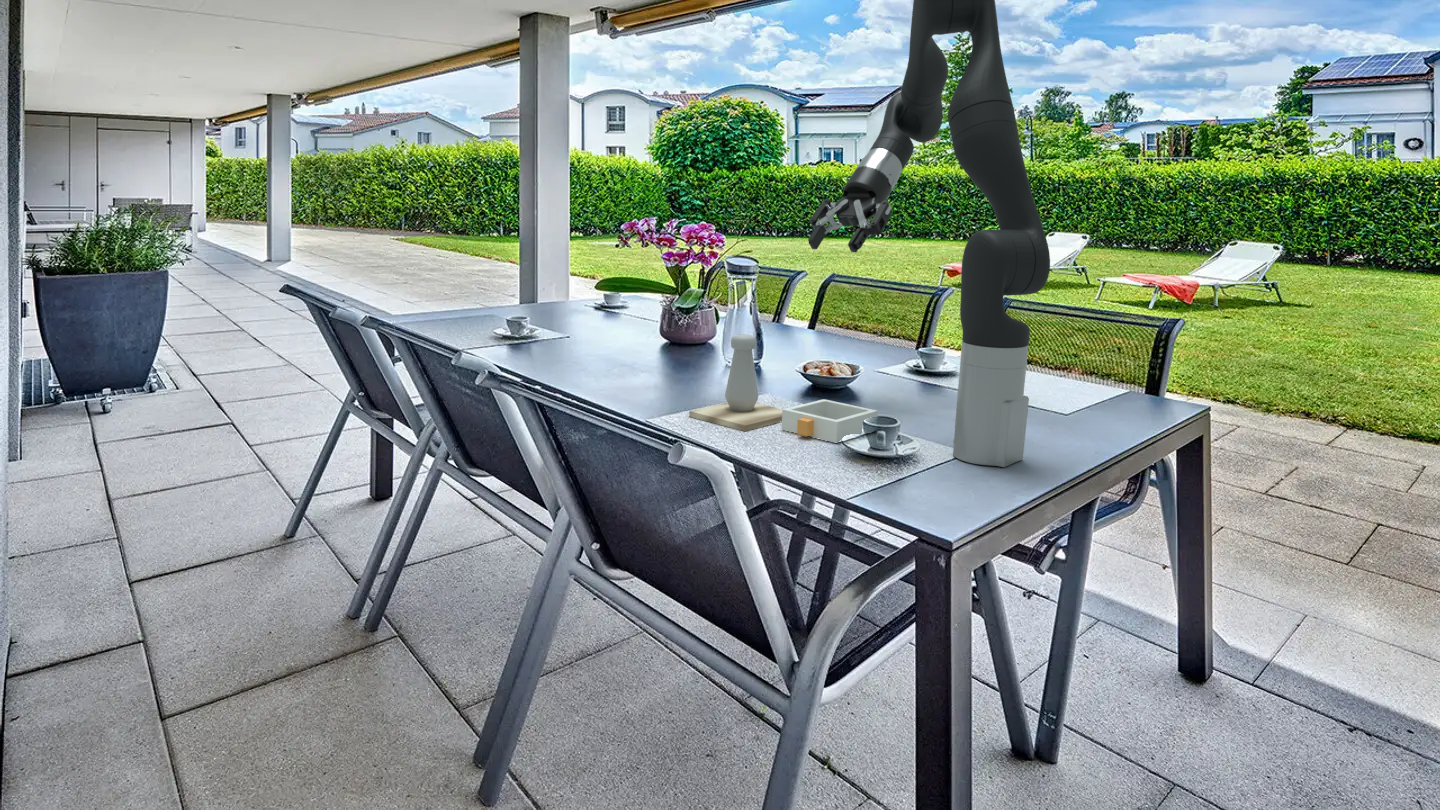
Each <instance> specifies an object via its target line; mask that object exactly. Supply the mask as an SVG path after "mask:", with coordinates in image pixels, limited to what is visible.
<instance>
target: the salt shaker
mask: <svg viewBox="0 0 1440 810" xmlns="http://www.w3.org/2000/svg"><path fill="white" fill-rule="evenodd" d="M756 342H757V341H756V337H755V336H754V335H751V334H749V333H748V334H747V333H742V334H741V333H740V334H734V335H732V337H731V339H730V347H731V349H734V350H733V354H732V358H731V364H730V369H729V374H728V378H727V384H726V389H725V395H724V396H725V400H726V403H728V404H729V407H730V409H731V410H732V411H738V412H746V411H752V410H753V408H754V406H755V404H756V403H757V402H758V400H759V392H758V391H759V390H758V386H757V385H758V383H757V376H756V368H755V362H754V354H753V350H754V349H756V344H757V343H756Z"/></svg>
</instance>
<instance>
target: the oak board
mask: <svg viewBox="0 0 1440 810" xmlns="http://www.w3.org/2000/svg"><path fill="white" fill-rule="evenodd" d="M782 409H783V408H778V407H774V406H770V405H766V404H761V403H757V402H756V404H755V406H754V408H753V410H752V411H746V412H738V411H732V410H731V409H730V407H729V404H728V402H723V403H719V404H715V405H710V406H706V407H702V408H698V409H697V408H696V409H693V410H689V412H688V413H689V415H688V417H690V418H693V419H697V420H701V421H703V422H708V423H711V424H715V425H716V424H717V425H720V426H723V427H728V428H730V429H735V430H739V431H742V432H749V431H753V430H755V429H760V428H764V427H768V426H771V425H770V424H772V425H774V423H776V424H778V423H777V422H779V423H781V422H780V421H782ZM767 425H768V426H767ZM763 426H764V427H763ZM752 429H753V430H752Z"/></svg>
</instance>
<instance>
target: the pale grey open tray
mask: <svg viewBox="0 0 1440 810" xmlns="http://www.w3.org/2000/svg"><path fill="white" fill-rule="evenodd" d="M781 409H782V422H781V431H783V430H785V431H784V432H787V431H789V432H788V433H791V432H794V433H793V434H795V433H797V434H796V435H799V436H803V437H806V438H808V437H807V436H811V437H815V438H820V439H823V440H827V441H831V442H839V441H840V440H841V439H842V438H843V437H844V436H846V435H850V434H861V433H862V422H863V421H864V420H865V419H867V418H870V417H875V416H877V417H878V415H879V414H878V412H879V411H878V410H876V409H871V408H867V407H863V406H862V407H861V406H858V405H852V404H848V403H844V402H838V401H834V400H829V399H825V398H824V399H818V400H815V401H811V402H807V403H804V404H803V403H802V404H797V405H796V406H795V405H794V406H791V407H787V408H781Z"/></svg>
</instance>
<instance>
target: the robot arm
mask: <svg viewBox="0 0 1440 810" xmlns="http://www.w3.org/2000/svg"><path fill="white" fill-rule="evenodd" d="M966 32H968V33H969V34H970V37H971V46H972V48H971V52H970V56H969V59H968V62H967V65H966V67H965V69H964V72H963V74H962V76H961V77H960V80H959V82H958V84H957V86H956V88H955V90H954V93H953V95H952V97H951V100H950V102H949V105H948V110H947V121H948V127H949V131H950V137H951V142H952V148H953V152H954V156H955V158H956V159H957V162H958V163H959V166H961V168H962V169H963V171H964V172H965V173H966V174H967V176H968V177H969V179H970V180H971V181H972V182H973V184H974V185H975V186H976V187H977V189H979V190H980V192H981V193H982V194H983V196H984V197H985V198H986V199H987V202H988V203H989V204H990V206H991V208H992V210H993V212H994V215H995V217H996V220H997V223H998V227H999V229H981V230H978V231H975V232H974V233H973V234H972V235H971V236H970V237H969V239H968V240H967V243H966V245H965V247H964V250H963V254H962V259H961V261H962V262H961V272H960V273H961V274H960V275H961V276H960V277H961V278H960V279H961V280H960V305H959V306H960V307H959V308H960V309H959V310H960V312H959V314H960V315H959V316H960V323H961V328H962V336H961V337H962V338H961V340H962V341H961V350H960V359H959V360H960V362H959V373H958V384H957V385H958V386H957V387H958V388H957V395H956V396H957V398H956V399H957V400H956V409H955V410H956V411H955V421H954V422H955V423H954V436H953V447H952V448H953V449H952V455H953V457H954V458H957V459H959V460H960V461H963V462H965V463H970V464H975V465H982V466H993V467H994V466H997V467H1002V468H1006V467H1008V466H1011V465H1013V464H1016V463H1017V462H1019V461H1022V460H1023V459H1024V451H1025V450H1024V449H1025V441H1026V433H1027V432H1026V431H1027V421H1028V412H1029V401H1030V397H1029V396H1026V395H1025V394H1024V392H1025V386H1026V385H1025V382H1026V375H1027V364H1028V355H1029V354H1028V352H1029V345H1030V336H1031V328H1030V326H1029V325H1028V324H1027V323H1025V322H1023V321H1021V320H1018V319H1015V318H1013V317H1011V316H1010V315H1009V314H1008V313H1007V312H1006V311H1005V307H1004V296H1024V295H1025V296H1027V295H1028V296H1029V295H1034V294H1036V293H1038V292H1040V291H1041V290H1042V289H1043V288H1044V287H1045V285H1046V284H1047V281H1048V280H1049V275H1050V271H1051V270H1050V269H1051V255H1050V249H1049V244H1048V241H1047V236H1046V234H1045V229H1044V226H1043V224H1042V221H1041V218H1040V215H1039V211H1038V208H1037V206H1036V202H1035V199H1034V195H1033V193H1032V189H1031V185H1030V181H1029V177H1028V174H1027V169H1026V165H1025V160H1024V156H1023V152H1022V147H1021V142H1020V135H1019V128H1018V123H1017V119H1016V114H1015V113H1016V112H1015V109H1014V105H1013V100H1012V96H1011V92H1010V88H1009V84H1008V80H1007V75H1006V70H1005V66H1004V60H1003V54H1002V49H1001V42H1000V33H999V24H998V16H997V7H996V0H913V1H912V12H911V26H910V35H909V49H908V50H909V52H908V63H907V65H906V66H907V67H906V70H905V73H904V77H903V81H902V84H901V89H900V91H899V92H897V93H896V94H894V95H892V97H891V98H890V99H889V101H888V103H887V105H886V109H885V111H884V116H883V121H882V124H881V125H882V126H881V128H880V132H879V134H878V136H877V138H876V139H875V141H874V142H873V144H872V146H871V148H870V149H869V151H867V153H866V154H865V156H863V158H862V159H861V160H860V162H859V163H858V165H857V167H855V170H854V171H853V172H852V174H851V176H850V177H849V179H848V180H847V182H846V184H845V186H844V187H843V192H842V197H840V199H839V200H837V201H836V202H834V201H831V200H830V199H829V198H825V199H824V200H823V201H822V203H820V205H819V206H818V208H817V210H815V212H814V213H813V215H812V217H810V219H809V223H810V225H811V227H812V228H813V231H812V233H811V234H810V235H809V237H808V239H807V240H808V245H809V246H810V248H811V249H812V250H817V249H818V248H819V247H820V245H821V244H822V242H823V240H824V238H825V237H826V235H827V234H828V233H829V232H831V231H832V230H834V231H835V230H836V231H837V230H839V229H840V228H841V227H843V226H844V227H845V226H853V227H858V226H859V227H858V228H856V230H855V231H854V233H853V234H852V236H851V238H850V239H849V241H848V243H847V246H848V248H849V250H850V252H851V253H857V252H858V250H860V249H862V246H863V245H864V243H865V242H866V240H867V238H870V237H871V236H872V235H875V236H880V235H881V234H883V231H884V229H885V227H886V226H887V224H888V222H889V220H890V218H891V216H892V214H893V209H892V206H891V205H890V203H889V200H887V199H888V197H889V196H890V195H891V193H892V191H893V190H894V188H895V186H896V185H897V183H898V180H899V179H900V176H901V174H902V173H903V170H904V168H905V167H906V165H907V163H908V162H909V161H910V160H911V158H912V156H913V153H914V150H915V149H914V142H913V141H915V142H918V143H927V142H929V141H931V140H933V139H934V138H935V137H936V136H937V135H938V133H939V131H940V129H941V126H942V123H943V117H944V116H943V115H944V114H943V113H944V109H943V102H942V93H943V92H944V89H945V85H946V82H947V80H948V74H949V65H948V64H949V63H948V61H947V58H946V56H945V54H944V52H943V51H942V50H941V48H940V47H939V45H938V44H937V43H936V41H935V39H934V38H933V36H935V35H939V36H941V35H949V34H958V33H966ZM835 216H836V219H837V221H835V219H834V217H835ZM872 217H873V218H872ZM871 218H872V220H871V221H870V219H871ZM827 223H829V224H827ZM825 224H827V225H826V226H825Z"/></svg>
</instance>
